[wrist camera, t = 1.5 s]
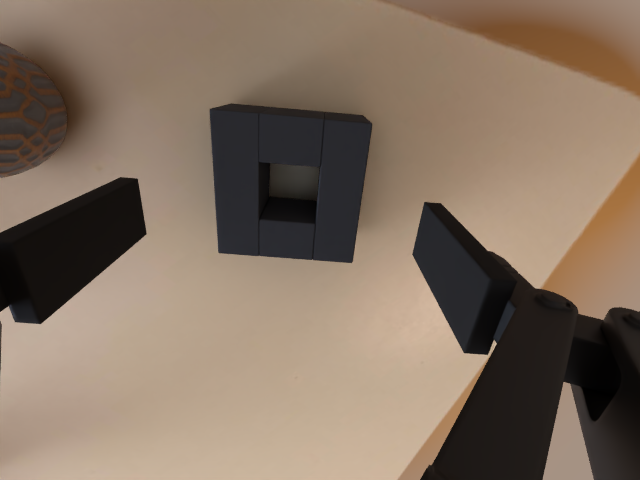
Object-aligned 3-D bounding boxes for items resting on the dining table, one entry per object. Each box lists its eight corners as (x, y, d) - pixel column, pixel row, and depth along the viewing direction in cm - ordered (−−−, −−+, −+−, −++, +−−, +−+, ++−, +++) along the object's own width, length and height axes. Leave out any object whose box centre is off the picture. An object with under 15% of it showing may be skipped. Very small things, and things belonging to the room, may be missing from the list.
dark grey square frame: (230, 103, 19) (209, 108, 16) (363, 115, 20) (372, 123, 16) (234, 226, 23) (218, 253, 19) (348, 235, 23) (352, 263, 20)
